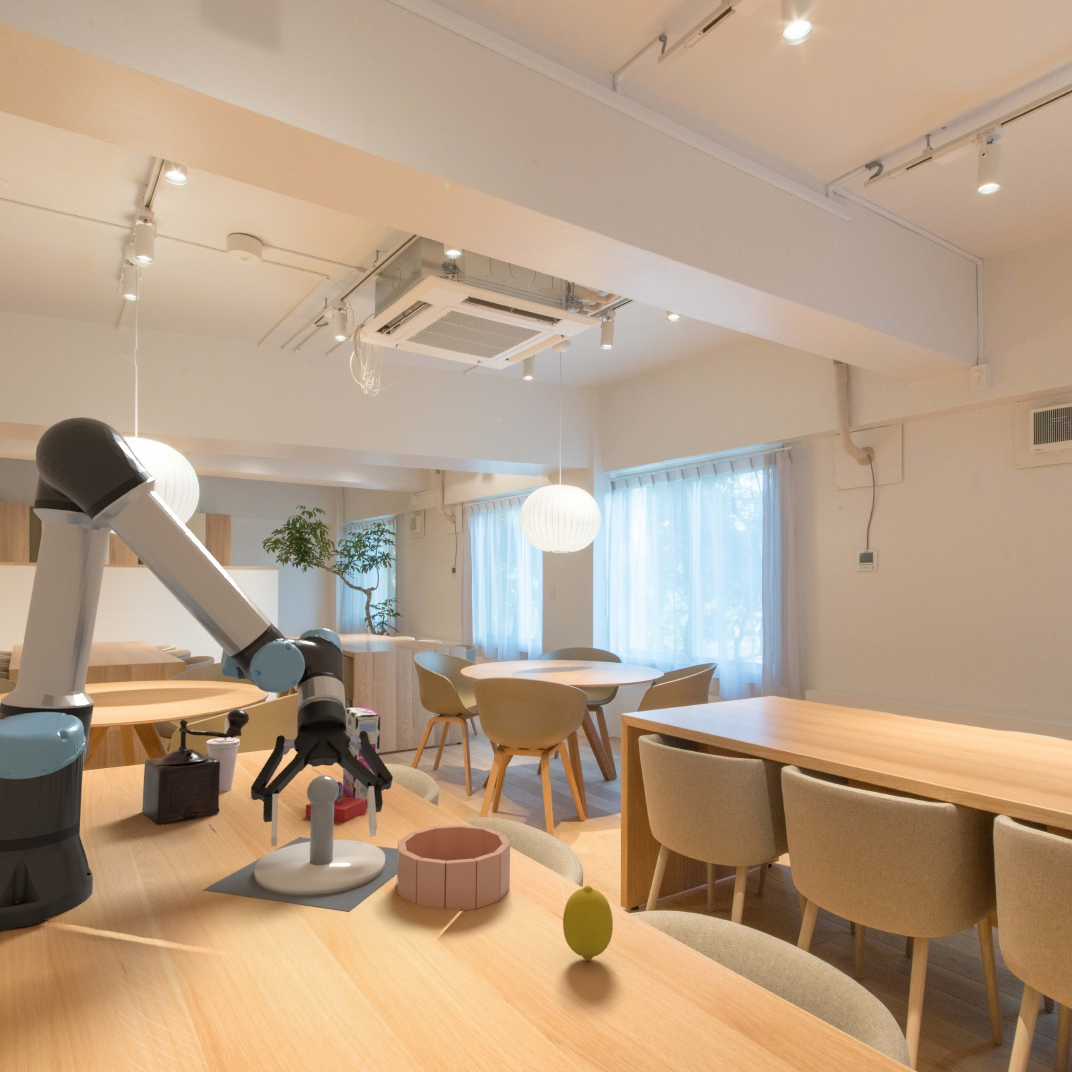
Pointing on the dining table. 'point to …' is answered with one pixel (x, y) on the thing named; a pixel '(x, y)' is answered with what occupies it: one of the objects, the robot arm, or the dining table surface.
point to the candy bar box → (356, 723)
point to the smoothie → (224, 758)
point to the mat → (342, 900)
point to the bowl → (453, 866)
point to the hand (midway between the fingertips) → (324, 836)
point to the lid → (320, 854)
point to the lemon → (587, 922)
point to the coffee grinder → (186, 778)
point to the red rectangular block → (344, 807)
